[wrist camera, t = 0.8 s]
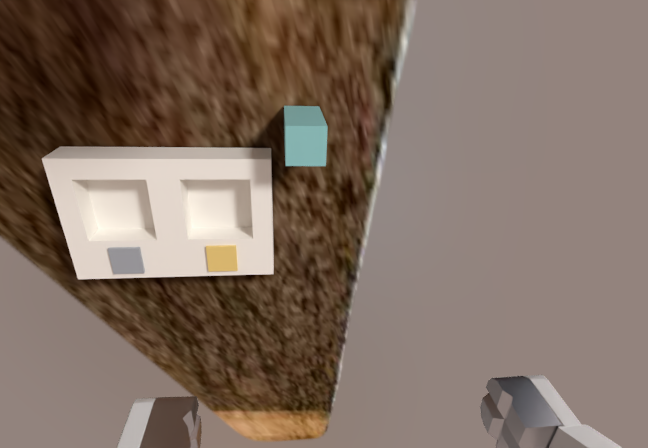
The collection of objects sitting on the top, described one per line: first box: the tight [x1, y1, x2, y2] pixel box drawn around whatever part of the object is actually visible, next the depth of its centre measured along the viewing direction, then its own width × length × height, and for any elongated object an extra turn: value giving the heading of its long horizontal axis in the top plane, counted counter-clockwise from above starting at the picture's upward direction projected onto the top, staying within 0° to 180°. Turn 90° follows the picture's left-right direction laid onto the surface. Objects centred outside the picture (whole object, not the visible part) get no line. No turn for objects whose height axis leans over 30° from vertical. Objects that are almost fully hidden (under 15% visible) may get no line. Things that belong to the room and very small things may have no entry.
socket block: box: [42, 147, 274, 279], centre depth 41 cm, size 13×20×4 cm, turn 88°
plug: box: [284, 106, 327, 166], centre depth 37 cm, size 3×3×8 cm
